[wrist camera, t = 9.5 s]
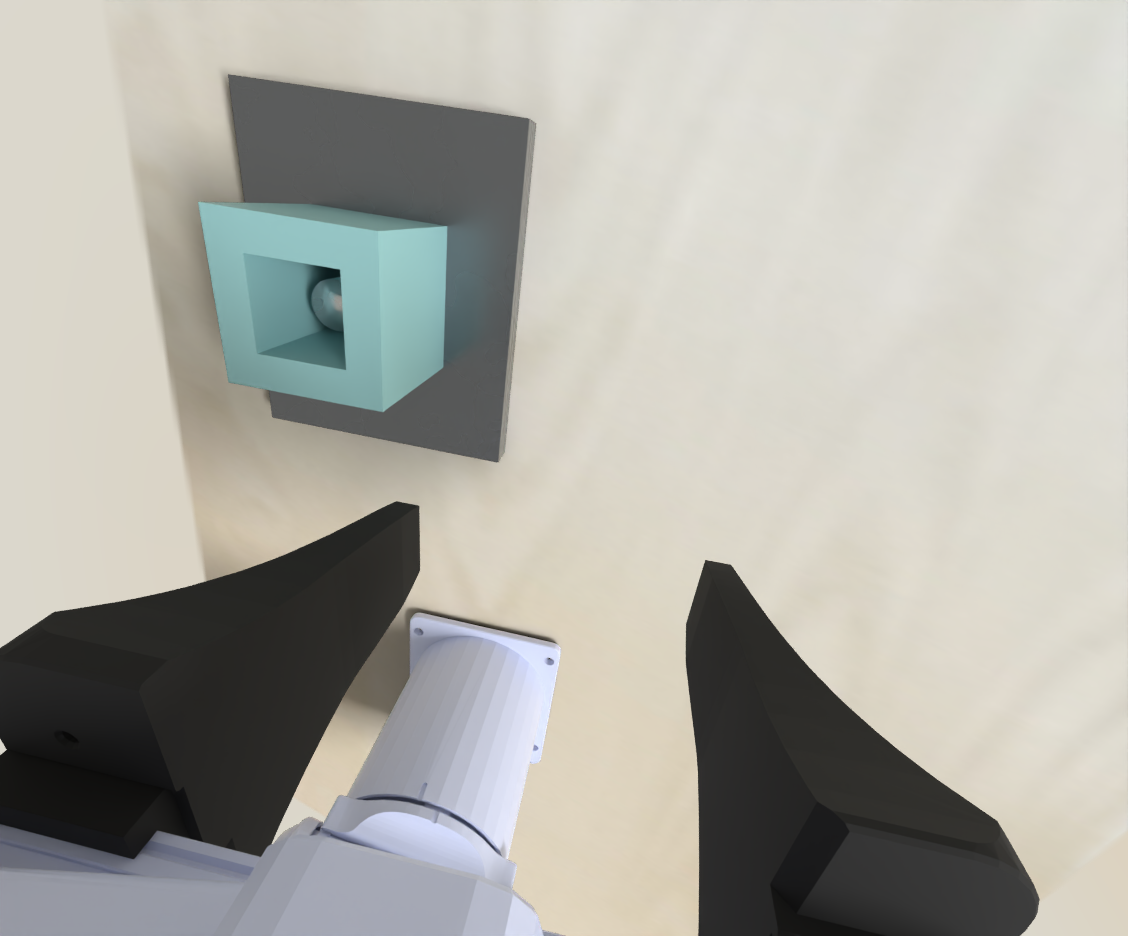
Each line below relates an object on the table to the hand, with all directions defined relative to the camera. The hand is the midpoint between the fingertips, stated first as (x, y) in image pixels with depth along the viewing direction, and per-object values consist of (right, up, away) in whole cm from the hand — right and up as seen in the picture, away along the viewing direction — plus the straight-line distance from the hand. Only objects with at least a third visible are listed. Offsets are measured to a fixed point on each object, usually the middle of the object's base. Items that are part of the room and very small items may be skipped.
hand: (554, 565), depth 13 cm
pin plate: (-6, +9, +7) cm, 13 cm away
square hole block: (-7, +9, +6) cm, 13 cm away
